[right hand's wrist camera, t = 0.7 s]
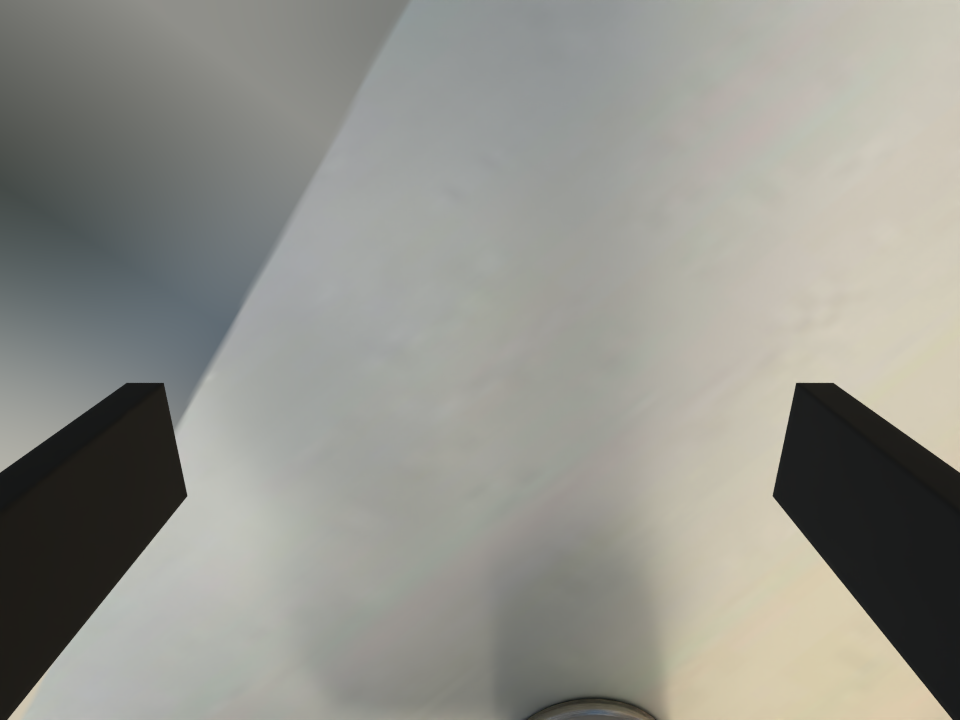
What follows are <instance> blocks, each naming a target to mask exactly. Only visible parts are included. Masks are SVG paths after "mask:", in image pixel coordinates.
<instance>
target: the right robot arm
mask: <svg viewBox="0 0 960 720" xmlns="http://www.w3.org/2000/svg"><path fill="white" fill-rule="evenodd" d="M186 497H187V492H186V487H185V483H184V478H183V473H182V468H181V463H180V459H179V454H178V449H177V444H176V440H175V435H174V430H173V425H172V421H171V416H170V411H169V406H168V402H167V397H166V392H165V387H164V383H126V384H125V385H123V386H122V387H120V388H119V389H118V390H116V391H115V392H113V393H112V394H111V395H109V396H108V397H106V398H105V399H104V400H102V401H101V402H99V403H98V404H97V405H95V406H94V407H92V408H91V409H89V410H88V411H87V412H85V413H84V414H82V415H81V416H80V417H78V418H77V419H75V420H74V421H72V422H71V423H70V424H68V425H67V426H65V427H64V428H63V429H61V430H60V431H58V432H57V433H56V434H54V435H53V436H51V437H50V438H49V439H47V440H46V441H44V442H43V443H41V444H40V445H39V446H37V447H36V448H34V449H33V450H32V451H30V452H29V453H27V454H26V455H25V456H23V457H22V458H20V459H19V460H18V461H16V462H15V463H13V464H12V465H10V466H9V467H8V468H6V469H5V470H3V471H2V472H1V473H0V720H7V719H8V718H9V717H10V716H11V714H12V713H13V712H14V711H15V709H16V708H17V707H18V706H19V704H20V703H21V702H22V701H23V700H24V698H25V697H26V696H27V695H28V693H29V692H30V691H31V690H32V688H33V687H34V686H35V685H36V683H37V682H38V681H39V680H40V678H41V677H42V676H43V675H44V673H45V672H46V671H47V670H48V668H49V667H50V666H51V665H52V664H53V662H54V661H55V660H56V659H57V657H58V656H59V655H60V654H61V652H62V651H63V650H64V649H65V647H66V646H67V645H68V644H69V642H70V641H71V640H72V639H73V637H74V636H75V635H76V634H77V632H78V631H79V630H80V629H81V628H82V626H83V625H84V624H85V623H86V621H87V620H88V619H89V618H90V616H91V615H92V614H93V613H94V611H95V610H96V609H97V608H98V606H99V605H100V604H101V603H102V601H103V600H104V599H105V598H106V596H107V595H108V594H109V593H110V591H111V590H112V589H113V588H114V587H115V585H116V584H117V583H118V582H119V580H120V579H121V578H122V577H123V575H124V574H125V573H126V572H127V570H128V569H129V568H130V567H131V565H132V564H133V563H134V562H135V560H136V559H137V558H138V557H139V555H140V554H141V553H142V552H143V550H144V549H145V548H146V547H147V546H148V544H149V543H150V542H151V541H152V539H153V538H154V537H155V536H156V534H157V533H158V532H159V531H160V529H161V528H162V527H163V526H164V524H165V523H166V522H167V521H168V519H169V518H170V517H171V516H172V514H173V513H174V512H175V511H176V509H177V508H178V507H179V506H180V505H181V503H182V502H183V501H184V500H185V498H186ZM773 497H774V498H775V500H776V501H777V502H778V503H779V505H780V506H781V507H782V508H783V509H784V511H785V512H786V513H787V514H788V516H789V517H790V518H791V519H792V521H793V522H794V523H795V524H796V526H797V527H798V528H799V529H800V531H801V532H802V533H803V534H804V536H805V537H806V538H807V539H808V541H809V542H810V543H811V544H812V546H813V547H814V548H815V549H816V550H817V552H818V553H819V554H820V555H821V557H822V558H823V559H824V560H825V562H826V563H827V564H828V565H829V567H830V568H831V569H832V570H833V572H834V573H835V574H836V575H837V577H838V578H839V579H840V580H841V582H842V583H843V584H844V585H845V587H846V588H847V589H848V590H849V591H850V593H851V594H852V595H853V596H854V598H855V599H856V600H857V601H858V603H859V604H860V605H861V606H862V608H863V609H864V610H865V611H866V613H867V614H868V615H869V616H870V618H871V619H872V620H873V621H874V623H875V624H876V625H877V626H878V628H879V629H880V630H881V631H882V632H883V634H884V635H885V636H886V637H887V639H888V640H889V641H890V642H891V644H892V645H893V646H894V647H895V649H896V650H897V651H898V652H899V654H900V655H901V656H902V657H903V659H904V660H905V661H906V662H907V664H908V665H909V666H910V667H911V668H912V670H913V671H914V672H915V673H916V675H917V676H918V677H919V678H920V680H921V681H922V682H923V683H924V685H925V686H926V687H927V688H928V690H929V691H930V692H931V693H932V695H933V696H934V697H935V698H936V700H937V701H938V702H939V703H940V705H941V706H942V707H943V708H944V709H945V711H946V712H947V713H948V714H949V716H950V717H951V718H952V719H953V720H960V473H959V472H958V471H957V470H955V469H954V468H952V467H951V466H950V465H948V464H947V463H945V462H944V461H943V460H941V459H940V458H938V457H937V456H935V455H934V454H933V453H931V452H930V451H928V450H927V449H926V448H924V447H923V446H921V445H920V444H919V443H917V442H916V441H914V440H913V439H911V438H910V437H909V436H907V435H906V434H904V433H903V432H902V431H900V430H899V429H897V428H896V427H895V426H893V425H892V424H890V423H889V422H888V421H886V420H885V419H883V418H882V417H880V416H879V415H878V414H876V413H875V412H873V411H872V410H871V409H869V408H868V407H866V406H865V405H864V404H862V403H861V402H859V401H858V400H857V399H855V398H854V397H852V396H851V395H849V394H848V393H847V392H845V391H844V390H842V389H841V388H840V387H838V386H837V385H835V384H834V383H796V387H795V392H794V397H793V401H792V406H791V411H790V416H789V420H788V425H787V430H786V435H785V440H784V444H783V449H782V454H781V459H780V463H779V468H778V473H777V478H776V483H775V487H774V492H773ZM527 720H656V719H654V718H653V717H652V716H651V715H649V714H648V713H646V712H645V711H643V710H641V709H639V708H637V707H634V706H632V705H629V704H626V703H622V702H618V701H613V700H606V699H581V700H574V701H568V702H564V703H560V704H557V705H554V706H551V707H548V708H546V709H544V710H542V711H540V712H538V713H536V714H535V715H533V716H531V717H530V718H529V719H527Z"/></svg>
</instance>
